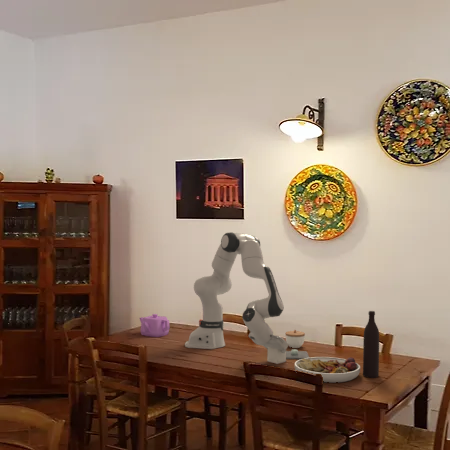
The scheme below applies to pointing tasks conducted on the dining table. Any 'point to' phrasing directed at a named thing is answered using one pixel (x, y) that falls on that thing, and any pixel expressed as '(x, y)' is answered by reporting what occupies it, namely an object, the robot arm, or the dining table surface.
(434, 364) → the dining table surface
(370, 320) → the wine bottle
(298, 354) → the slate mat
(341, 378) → the bowl
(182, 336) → the dining table surface
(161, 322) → the teakettle
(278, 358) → the white square canister
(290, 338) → the lidded jar
